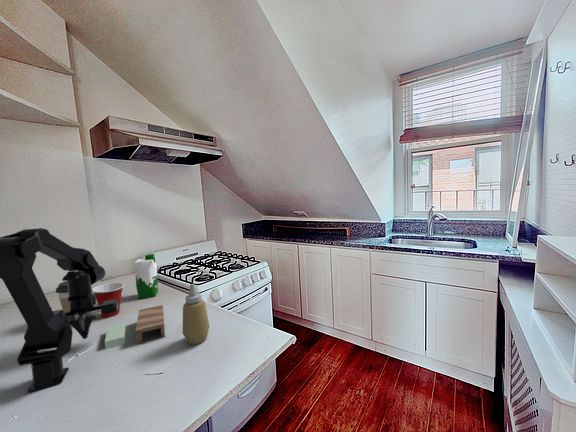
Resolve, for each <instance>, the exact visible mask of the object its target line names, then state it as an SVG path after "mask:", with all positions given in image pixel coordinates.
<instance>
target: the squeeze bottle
mask: <svg viewBox="0 0 576 432" xmlns="http://www.w3.org/2000/svg"><path fill="white" fill-rule="evenodd" d="M209 330H210V322H209V317H208V312H207V306H206V301H205V300H203V299H202V294H201V293H199V292H198V291H197V288H196V285H195V283H191V284H190V285H189V292H188V294H187V295H186V296H185V303H184V304H183V306H182V335H183V336H184V338H185V341H186V343H187V344H189V345H198V344H202V343H203V342H204V341H206V340H207V338H208V335H209Z"/></svg>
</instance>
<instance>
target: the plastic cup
mask: <svg viewBox="0 0 576 432" xmlns="http://www.w3.org/2000/svg"><path fill="white" fill-rule="evenodd" d="M124 287H125V284H124V283H122V282H109V283H104V284H100V285H97V286H94V287H93V288H92V293H93V294H96V304H97V306H99V305H102V304H103V303H104V301H108V300H113V299H117V300H118V301H119V307H118V310H117V312H114V313H109V314H103V313H102V311H100V314H101V316H102V318H104V319H107V318H113V317H115V316H117V315H119V314H120V311H121V303H122V293H123V290H124V289H123V288H124Z"/></svg>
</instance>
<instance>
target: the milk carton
mask: <svg viewBox="0 0 576 432" xmlns="http://www.w3.org/2000/svg"><path fill="white" fill-rule="evenodd" d="M133 265H134V276H135V286H136V287H135V288H136V292H137V297H138V300H143V299H144V300H145V299H150V298H155V297H156V296H157V294H158V293H159V280H158V279H159V278H158V268H157V267H158V266H157V257H156V256H155V253H148V254H144V257H143V258H138V259H137V260H135V261H134V262H133Z"/></svg>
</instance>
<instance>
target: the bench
mask: <svg viewBox="0 0 576 432" xmlns="http://www.w3.org/2000/svg"><path fill="white" fill-rule="evenodd" d="M137 313H138V314H137V321H136V327H135V338H136V345H141V344H143V341H144V340H143V333H146V332H149V331H154V330H158V329H160V335H161V338H165V337H166V331H165V317H164V316H165V315H164V305H163V304H161V305H156V306H151V307H146V308H142V309H138V312H137Z"/></svg>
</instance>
